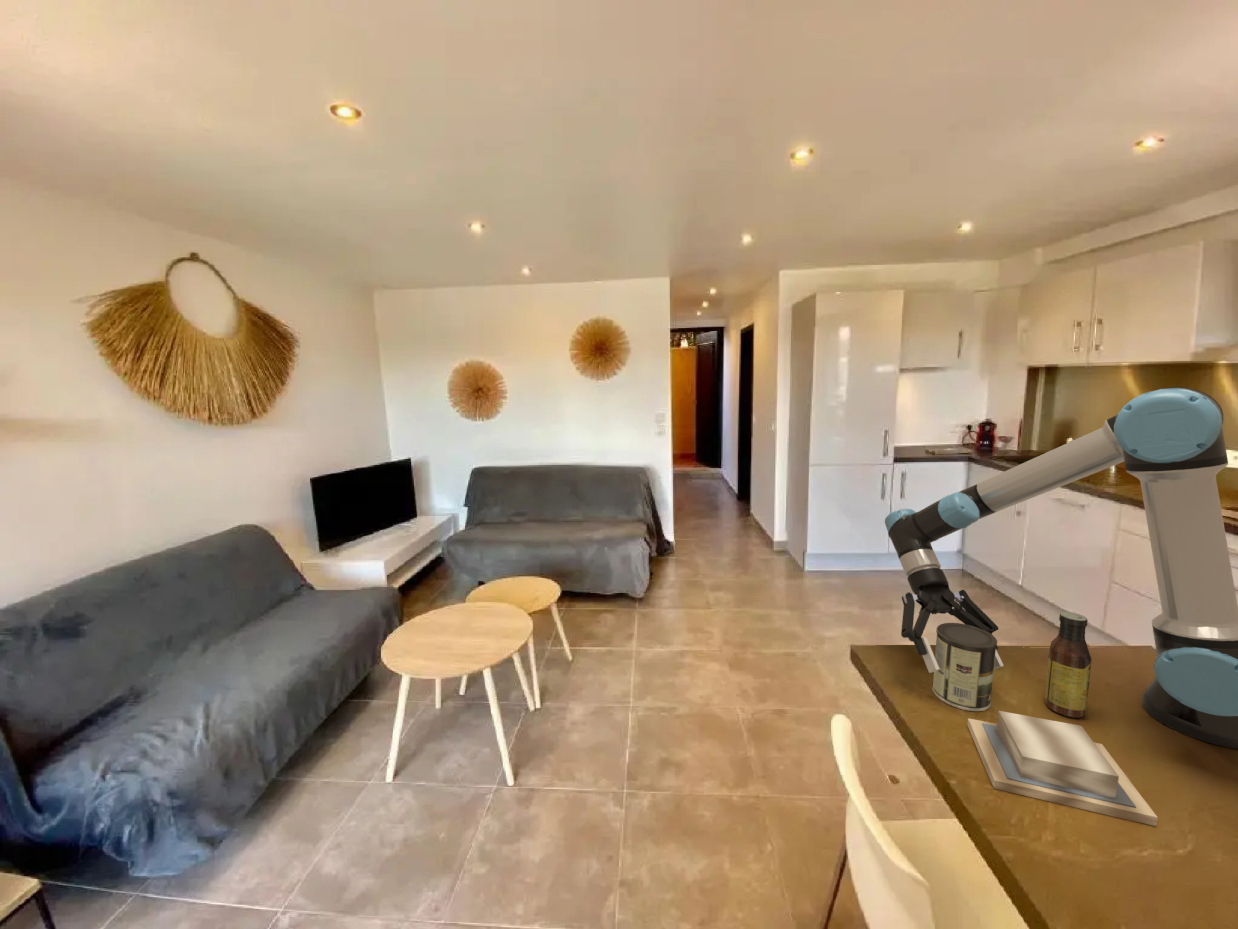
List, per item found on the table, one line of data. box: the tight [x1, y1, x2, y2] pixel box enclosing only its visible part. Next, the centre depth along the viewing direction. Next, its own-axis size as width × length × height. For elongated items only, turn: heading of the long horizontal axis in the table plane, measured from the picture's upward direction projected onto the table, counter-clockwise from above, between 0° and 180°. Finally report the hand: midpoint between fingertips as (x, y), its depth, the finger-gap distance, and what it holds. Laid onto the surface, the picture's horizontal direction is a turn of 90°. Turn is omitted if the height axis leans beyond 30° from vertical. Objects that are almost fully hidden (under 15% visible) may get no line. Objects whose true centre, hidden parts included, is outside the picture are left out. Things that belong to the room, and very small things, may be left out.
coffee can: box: [931, 622, 998, 712], centre depth 103 cm, size 10×10×14 cm
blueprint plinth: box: [967, 710, 1159, 827], centre depth 84 cm, size 20×16×6 cm
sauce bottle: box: [1044, 611, 1092, 719], centre depth 98 cm, size 6×6×20 cm
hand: (966, 669), depth 102 cm, fingers open, 13 cm apart
